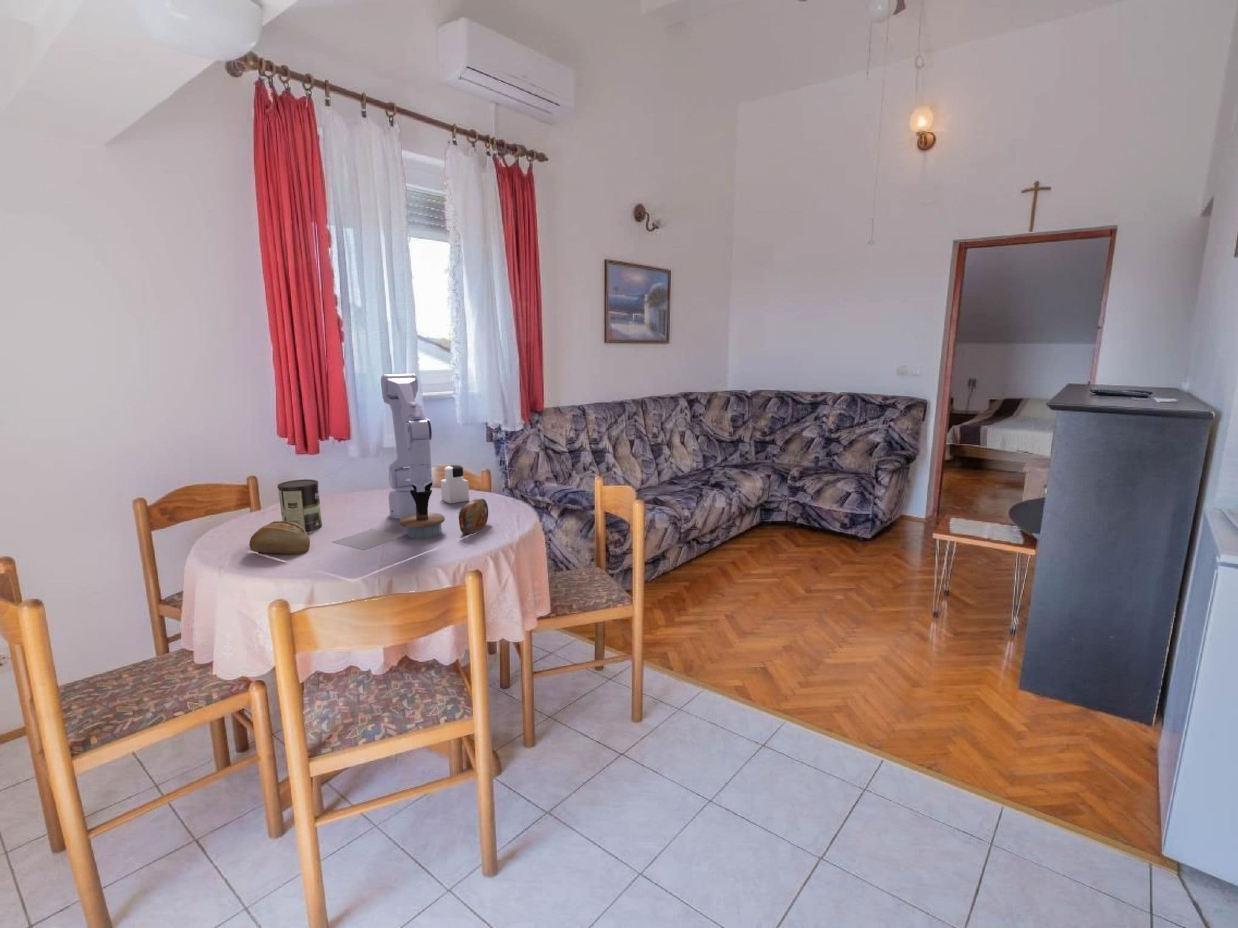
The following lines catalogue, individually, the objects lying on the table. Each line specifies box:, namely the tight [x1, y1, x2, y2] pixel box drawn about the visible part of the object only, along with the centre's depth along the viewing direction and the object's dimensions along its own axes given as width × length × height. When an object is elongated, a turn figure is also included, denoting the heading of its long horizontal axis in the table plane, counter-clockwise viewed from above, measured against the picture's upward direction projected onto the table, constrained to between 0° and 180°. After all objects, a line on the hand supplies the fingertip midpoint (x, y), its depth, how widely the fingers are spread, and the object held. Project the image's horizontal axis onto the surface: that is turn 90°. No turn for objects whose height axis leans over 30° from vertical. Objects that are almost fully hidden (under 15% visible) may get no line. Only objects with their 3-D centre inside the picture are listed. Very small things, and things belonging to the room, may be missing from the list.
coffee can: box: [277, 478, 323, 534], centre depth 175 cm, size 10×10×14 cm
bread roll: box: [249, 520, 311, 555], centre depth 158 cm, size 10×15×8 cm, turn 90°
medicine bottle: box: [440, 464, 470, 505], centre depth 209 cm, size 7×7×12 cm
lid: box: [399, 507, 446, 528], centre depth 172 cm, size 12×12×4 cm
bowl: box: [406, 523, 443, 540], centre depth 173 cm, size 9×9×4 cm
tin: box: [458, 498, 489, 535], centre depth 177 cm, size 15×3×8 cm, turn 168°
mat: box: [332, 528, 404, 551], centre depth 168 cm, size 13×13×1 cm
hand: (423, 511), depth 172 cm, fingers open, 7 cm apart
